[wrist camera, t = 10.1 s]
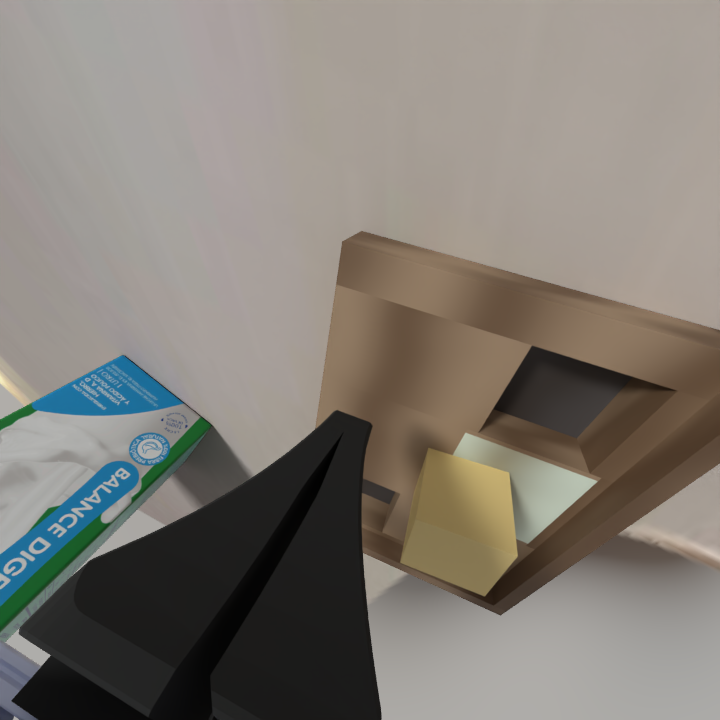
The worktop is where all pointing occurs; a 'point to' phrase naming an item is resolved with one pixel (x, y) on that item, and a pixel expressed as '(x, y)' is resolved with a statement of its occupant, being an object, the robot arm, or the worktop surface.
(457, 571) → the ochre block
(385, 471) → the board
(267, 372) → the worktop surface
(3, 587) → the milk carton
